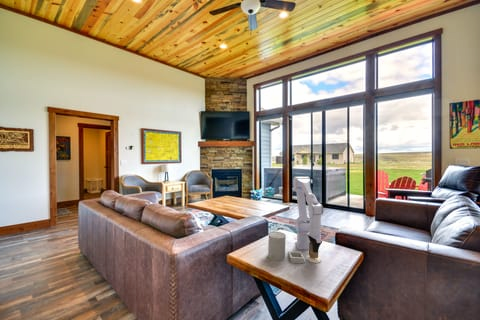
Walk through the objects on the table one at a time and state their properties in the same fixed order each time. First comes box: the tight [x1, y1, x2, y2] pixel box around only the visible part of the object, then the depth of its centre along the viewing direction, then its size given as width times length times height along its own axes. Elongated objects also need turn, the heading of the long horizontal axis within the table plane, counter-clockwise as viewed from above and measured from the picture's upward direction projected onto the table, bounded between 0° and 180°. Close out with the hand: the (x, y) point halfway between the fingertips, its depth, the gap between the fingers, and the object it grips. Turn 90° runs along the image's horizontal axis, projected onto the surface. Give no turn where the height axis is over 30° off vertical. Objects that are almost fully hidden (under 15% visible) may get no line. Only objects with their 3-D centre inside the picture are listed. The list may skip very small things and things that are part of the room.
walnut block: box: [308, 242, 319, 258], centre depth 116 cm, size 4×4×7 cm
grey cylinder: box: [267, 231, 287, 262], centre depth 118 cm, size 10×10×12 cm
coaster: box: [305, 254, 323, 264], centre depth 116 cm, size 8×8×1 cm
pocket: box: [287, 251, 305, 264], centre depth 115 cm, size 7×7×2 cm
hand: (314, 250), depth 116 cm, fingers closed on walnut block, 4 cm apart
